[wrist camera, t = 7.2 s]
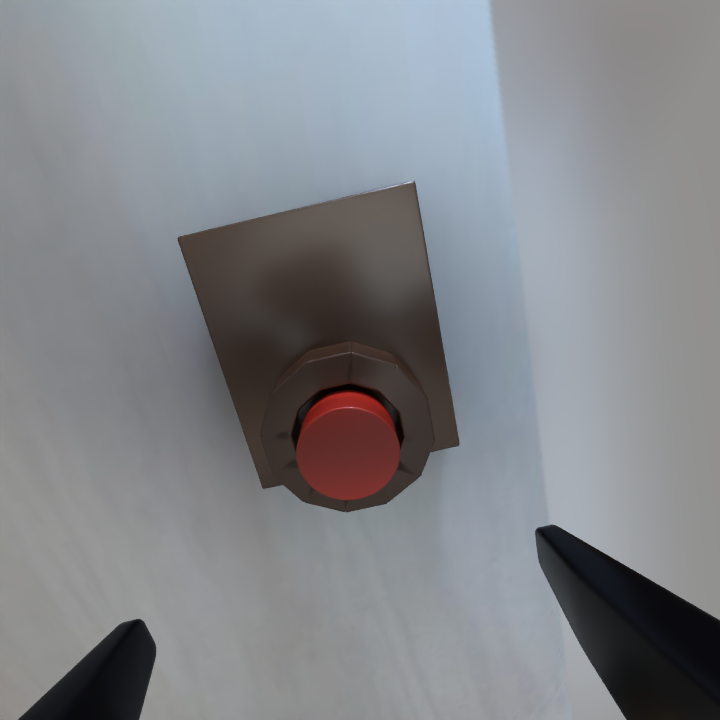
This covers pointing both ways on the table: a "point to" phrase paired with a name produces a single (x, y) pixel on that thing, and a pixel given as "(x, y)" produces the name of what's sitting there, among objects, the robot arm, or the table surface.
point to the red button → (348, 445)
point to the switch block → (327, 327)
